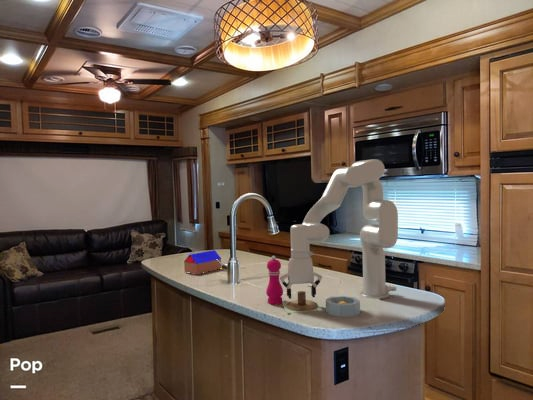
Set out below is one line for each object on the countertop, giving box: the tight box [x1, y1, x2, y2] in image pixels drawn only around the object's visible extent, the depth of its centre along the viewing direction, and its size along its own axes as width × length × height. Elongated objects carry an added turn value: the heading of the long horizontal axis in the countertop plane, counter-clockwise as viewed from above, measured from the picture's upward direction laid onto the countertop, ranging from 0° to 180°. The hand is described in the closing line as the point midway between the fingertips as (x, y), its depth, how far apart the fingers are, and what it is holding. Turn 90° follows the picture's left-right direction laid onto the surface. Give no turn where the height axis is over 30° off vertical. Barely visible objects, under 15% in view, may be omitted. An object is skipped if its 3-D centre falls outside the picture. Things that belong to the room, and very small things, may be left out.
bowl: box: [325, 295, 361, 318], centre depth 149 cm, size 12×12×5 cm
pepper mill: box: [265, 255, 284, 305], centre depth 166 cm, size 7×7×20 cm
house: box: [183, 249, 222, 275], centre depth 238 cm, size 12×20×12 cm, turn 140°
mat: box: [281, 300, 324, 315], centre depth 158 cm, size 14×14×1 cm
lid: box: [286, 290, 319, 312], centre depth 158 cm, size 13×13×6 cm
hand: (301, 297), depth 158 cm, fingers open, 9 cm apart
